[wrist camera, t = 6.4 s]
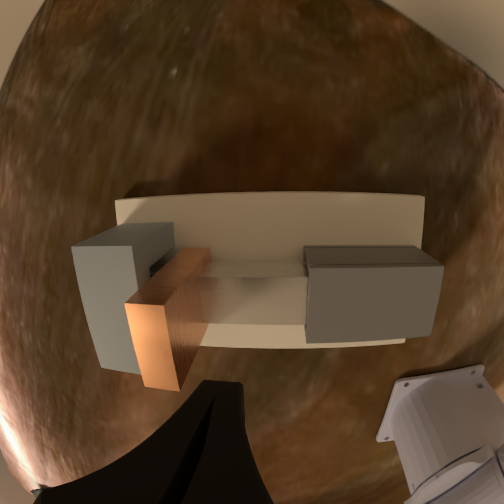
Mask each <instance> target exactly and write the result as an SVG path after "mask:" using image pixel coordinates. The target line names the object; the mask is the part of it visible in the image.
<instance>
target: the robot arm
mask: <svg viewBox="0 0 504 504" xmlns="http://www.w3.org/2000/svg"><path fill="white" fill-rule="evenodd" d="M484 370H485V366H484V365H483V364H480V365H475V366H471V367H466V368H461V369H456V370H451V371H446V372H440V373H434V374H428V375H422V376H415V377H408V378H401V379H398V380H397V381H396V382H395V384H394V388H393V391H392V394H391V397H390V400H389V403H388V406H387V409H386V412H385V415H384V418H383V421H382V424H381V426H380V429H379V432H378V434H377V437H376V440H377V442H384V441H391V440H394V441H395V444H396V447H397V450H398V453H399V456H400V460H401V463H402V466H403V470H404V473H405V476H406V480H407V483H408V487H409V490H410V494H411V497H410V498H409V499H407V500H406V501H404V504H504V404H503V402H502V401H501V399H500V398H499V397H498V395H497V394H496V392H495V391H494V390H493V388H492V387H491V386H490V384H489V383H488V382H487V380H486V379H485V378H484V376H483V375H482V374H483V372H484ZM407 382H408V383H407ZM405 383H407V384H405ZM33 504H274V503H273V501H272V499H271V497H270V495H269V493H268V491H267V489H266V487H265V485H264V483H263V481H262V478H261V476H260V474H259V471H258V469H257V466H256V464H255V461H254V458H253V455H252V452H251V449H250V445H249V442H248V438H247V434H246V430H245V410H244V392H243V385H242V384H241V383H240V382H225V381H212V380H203V381H202V382H201V383H200V384H199V385H198V387H197V388H196V389H195V390H194V392H193V393H192V394H191V395H190V396H189V398H188V399H187V400H186V401H185V402H184V403H183V404H182V406H181V407H180V408H179V409H178V410H177V411H176V412H175V413H174V414H173V415H172V416H171V417H170V418H169V419H168V420H167V421H166V422H165V423H164V424H163V425H162V426H161V427H160V428H158V429H157V430H156V431H155V432H154V433H153V434H152V435H151V436H150V437H148V438H147V439H146V440H145V441H143V442H142V443H141V444H140V445H138V446H137V447H135V448H134V449H133V450H131V451H130V452H128V453H127V454H125V455H124V456H122V457H121V458H119V459H117V460H116V461H114V462H113V463H111V464H109V465H107V466H105V467H104V468H102V469H100V470H97V471H95V472H93V473H91V474H89V475H87V476H84V477H82V478H80V479H77V480H75V481H72V482H69V483H66V484H62V485H59V486H56V487H52V488H49V489H45V490H42V491H41V493H40V494H39V495H38V497H37V498H36V500H35V502H34V503H33Z"/></svg>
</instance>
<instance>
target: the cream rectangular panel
mask: <svg viewBox="0 0 504 504" xmlns="http://www.w3.org/2000/svg"><path fill="white" fill-rule="evenodd" d="M424 206H425V197H424V196H420V195H409V194H390V193H365V192H323V191H269V192H226V193H201V194H181V195H164V196H150V197H136V198H124V199H119V200H115V207H116V217H117V226H118V225H121V224H126V223H149V222H173V228H174V239H175V247H173V248H172V249H171V250H170V251H169V252H167V253H166V254H165V255H164V256H163V257H161V258H160V259H159V260H158V261H170V260H171V259H172V258H173V257H174V256H175V255H176V254H177V253H179V252H180V251H181V250H182V249H183V248H210V252H211V261H306V264H307V268H308V272H309V285H308V307H307V325H243V324H212V323H209V325H208V327H207V330H206V332H205V334H204V337H203V339H202V341H201V344H200V346H214V347H237V348H332V347H355V346H371V345H385V344H397V343H405V338H414V337H423V336H430V334H431V331H432V327H433V322H434V318H435V314H436V309H437V305H438V300H439V295H440V290H441V285H442V279H443V273H444V267H445V266H444V265H442V264H439V262H438V261H437V260H435V259H434V258H432V257H431V256H429V255H428V254H426V253H425V252H424V251H422V250H421V243H422V233H423V221H424Z"/></svg>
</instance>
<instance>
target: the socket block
mask: <svg viewBox="0 0 504 504" xmlns="http://www.w3.org/2000/svg"><path fill="white" fill-rule="evenodd" d="M173 247H175V239H174V228H173V222H149V223H126V224H121V225H118V226H116V227H114V228H111V229H109V230H107V231H104V232H102V233H100V234H98V235H95V236H93V237H91V238H89V239H87V240H84V241H82V242H80V243H78V244H76V245H74V246H72V247H71V248H72V254H73V259H74V265H75V270H76V275H77V280H78V285H79V289H80V294H81V298H82V302H83V306H84V310H85V314H86V318H87V322H88V325H89V329H90V333H91V336H92V339H93V343H94V346H95V349H96V352H97V356H98V359H99V362H100V365H101V367H102V368H107V369H112V370H118V371H123V372H129V373H136V374H141V371H140V367H139V364H138V360H137V356H136V352H135V348H134V344H133V340H132V336H131V332H130V327H129V323H128V318H127V314H126V309H125V304H124V303H125V302H126V301H127V300H128V299H129V298H130V297H131V296H132V295H133V294H134V293H135V292H136V291H138V290H139V289H140V288H141V287H142V286H143V285H144V284H145V283H146V282H147V281H148V280H149V279H150V278H151V277H150V270H149V267H151V266H152V265H153V264H154V263H155V262H156V261H158V260H159V259H160V258H161V257H163V256H164V255H165V254H166V253H167V252H169V251H170V250H171V249H172V248H173Z"/></svg>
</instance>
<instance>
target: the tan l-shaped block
mask: <svg viewBox="0 0 504 504" xmlns="http://www.w3.org/2000/svg"><path fill="white" fill-rule="evenodd" d="M149 270H150V277H151V278H150V279H149V280H148V281H147V282H146V283H145V284H144V285H143V286H142V287H141V288H140V289H139V290H138V291H136V292H135V293H134V294H133V295H132V296H131V297H130V298H129V299H128V300H127V301H126V302H125V303H124V304H125V309H126V314H127V318H128V323H129V327H130V332H131V336H132V340H133V344H134V348H135V352H136V356H137V360H138V364H139V367H140V371H141V375H142V378H143V381H144V385H145V387H151V388H158V389H165V390H173V391H180V390H181V388H182V385H183V383H184V381H185V378H186V376H187V374H188V371H189V369H190V367H191V365H192V362H193V360H194V358H195V355H196V353H197V351H198V348H199V346H200V344H201V341H202V339H203V337H204V334H205V332H206V330H207V327H208V325H209V323H212V324H243V325H307V307H308V285H309V272H308V268H307V264H306V261H211V252H210V248H183V249H182V250H181V251H180V252H179V253H177V254H176V255H175V256H174V257H173V258H172V259H171V260H170V261H156V262H155V263H154V264H153V265H152V266H151V267H149Z"/></svg>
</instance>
